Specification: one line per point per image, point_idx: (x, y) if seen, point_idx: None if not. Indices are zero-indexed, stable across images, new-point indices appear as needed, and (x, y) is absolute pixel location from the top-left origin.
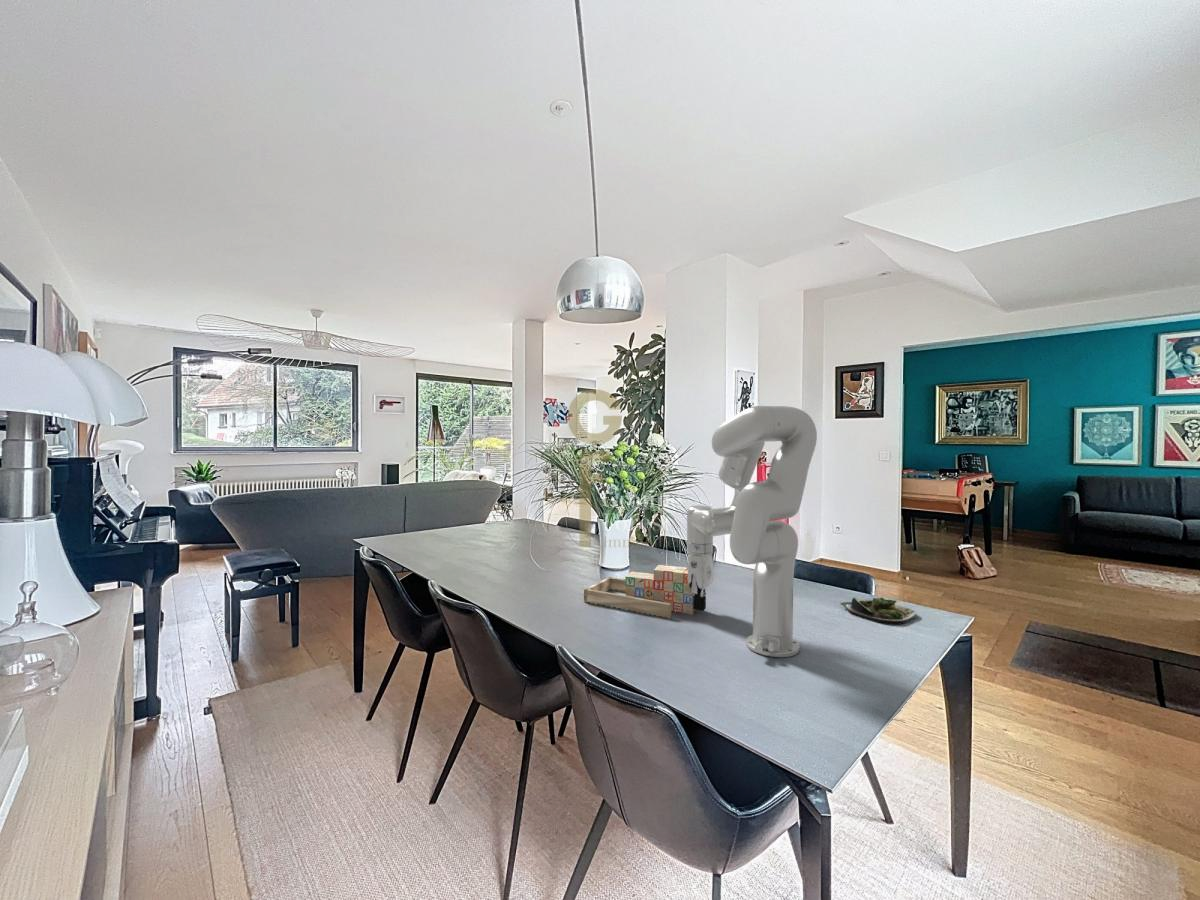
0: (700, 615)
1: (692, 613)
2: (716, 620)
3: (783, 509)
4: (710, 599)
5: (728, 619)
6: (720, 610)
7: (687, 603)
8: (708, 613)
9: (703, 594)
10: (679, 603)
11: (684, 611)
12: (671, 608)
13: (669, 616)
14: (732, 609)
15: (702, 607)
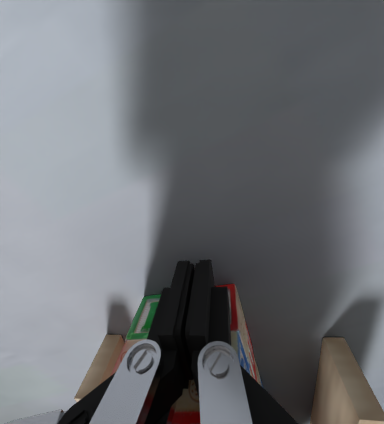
0: (223, 253)
1: (236, 289)
2: (248, 151)
3: None
4: (11, 288)
5: (182, 90)
6: (84, 202)
7: (245, 355)
8: (170, 234)
9: (162, 360)
10: (252, 376)
11: (244, 321)
12: (255, 366)
13: (347, 346)
14: (15, 155)
15: (210, 277)
